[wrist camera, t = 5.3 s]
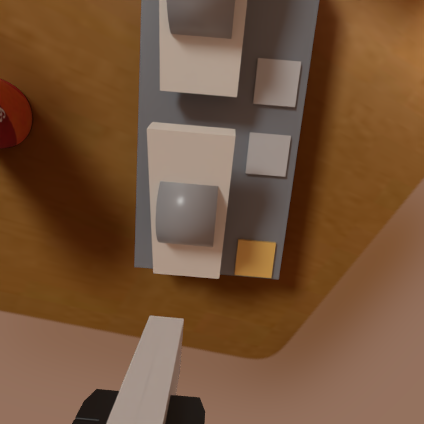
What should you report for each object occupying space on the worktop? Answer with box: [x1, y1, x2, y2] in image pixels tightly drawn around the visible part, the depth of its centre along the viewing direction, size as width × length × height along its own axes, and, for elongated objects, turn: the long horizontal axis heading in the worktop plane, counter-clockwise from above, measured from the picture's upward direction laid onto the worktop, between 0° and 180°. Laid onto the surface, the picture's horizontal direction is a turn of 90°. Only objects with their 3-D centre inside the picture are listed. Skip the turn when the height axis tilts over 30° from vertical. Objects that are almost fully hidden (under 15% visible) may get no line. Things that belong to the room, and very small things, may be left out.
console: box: [134, 0, 319, 280], centre depth 24 cm, size 12×25×6 cm, turn 175°
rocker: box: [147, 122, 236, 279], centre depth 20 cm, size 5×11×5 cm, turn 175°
